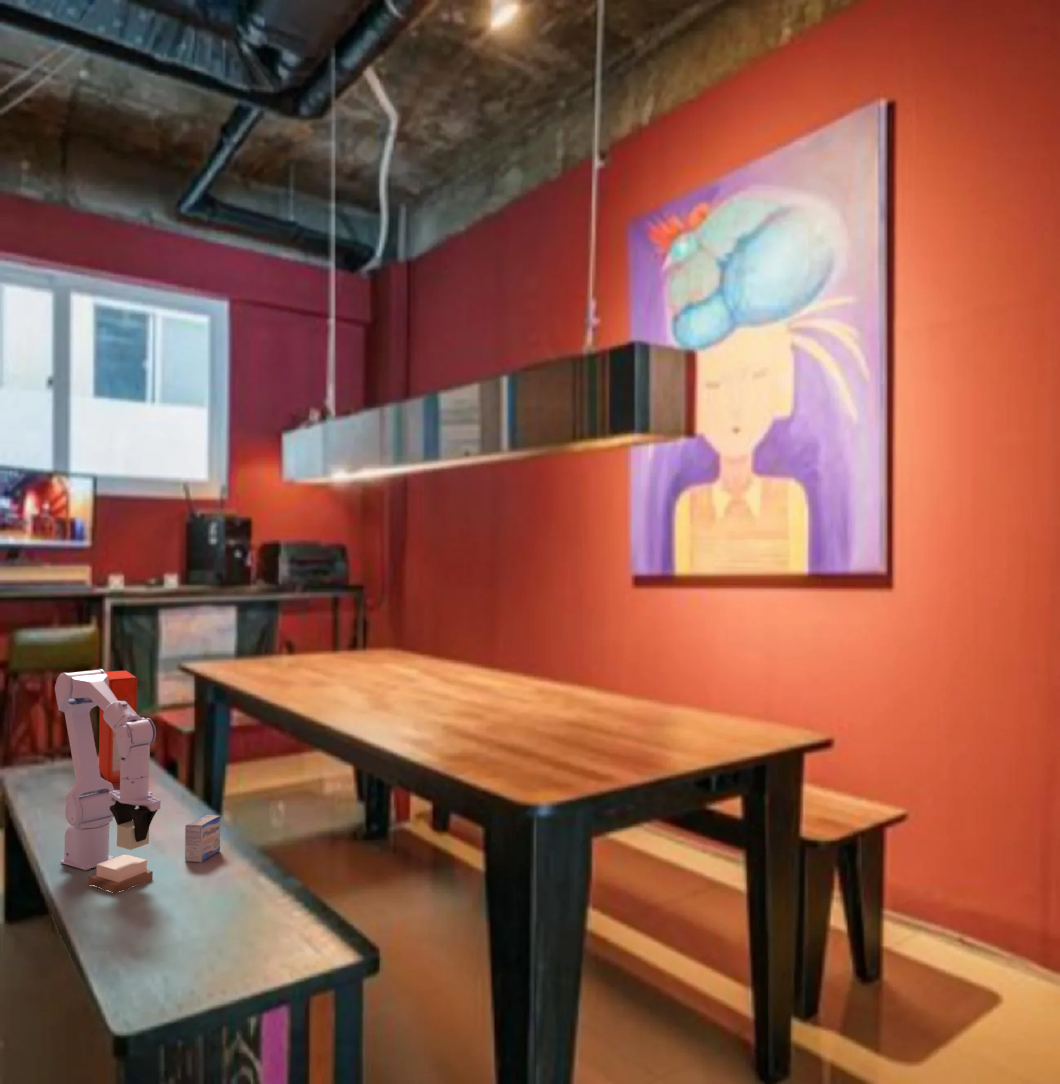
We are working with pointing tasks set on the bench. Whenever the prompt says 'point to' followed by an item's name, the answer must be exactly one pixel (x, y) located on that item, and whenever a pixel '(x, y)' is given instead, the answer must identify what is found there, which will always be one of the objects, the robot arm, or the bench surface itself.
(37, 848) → the bench surface
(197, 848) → the medicine box
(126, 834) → the beige cube
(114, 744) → the file binder
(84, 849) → the robot arm
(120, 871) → the cream top slab
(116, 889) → the walnut base slab
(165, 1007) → the bench surface
